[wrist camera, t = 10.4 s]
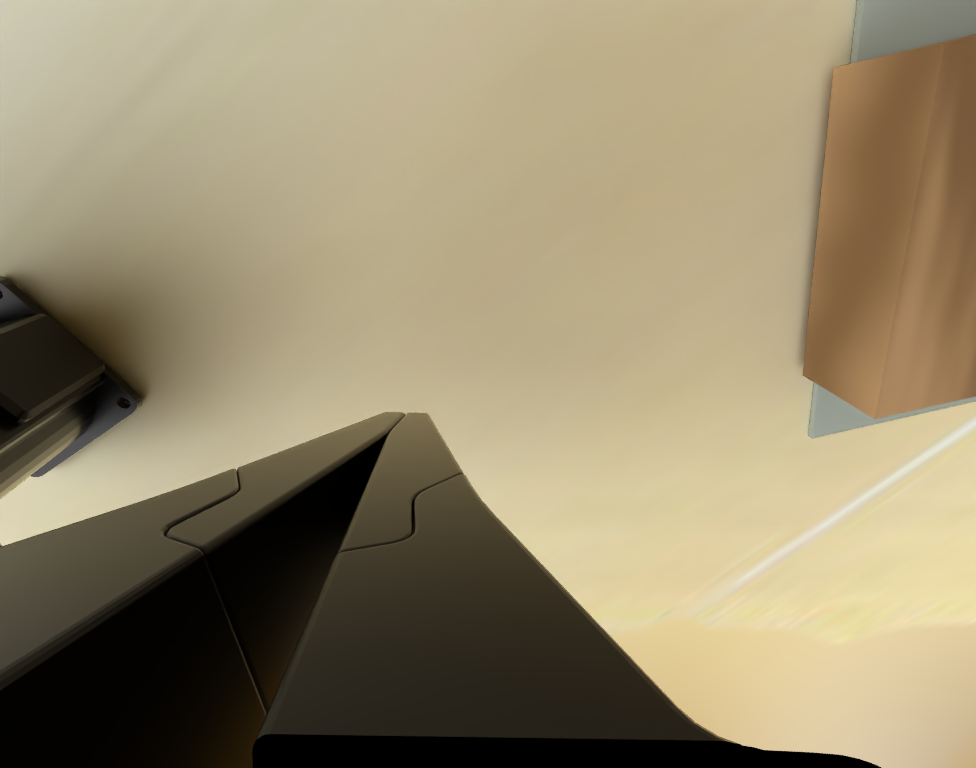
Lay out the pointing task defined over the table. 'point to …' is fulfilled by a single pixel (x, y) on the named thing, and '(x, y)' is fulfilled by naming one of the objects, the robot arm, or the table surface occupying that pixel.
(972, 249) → the walnut block
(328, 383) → the table surface
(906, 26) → the mat
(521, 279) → the table surface
